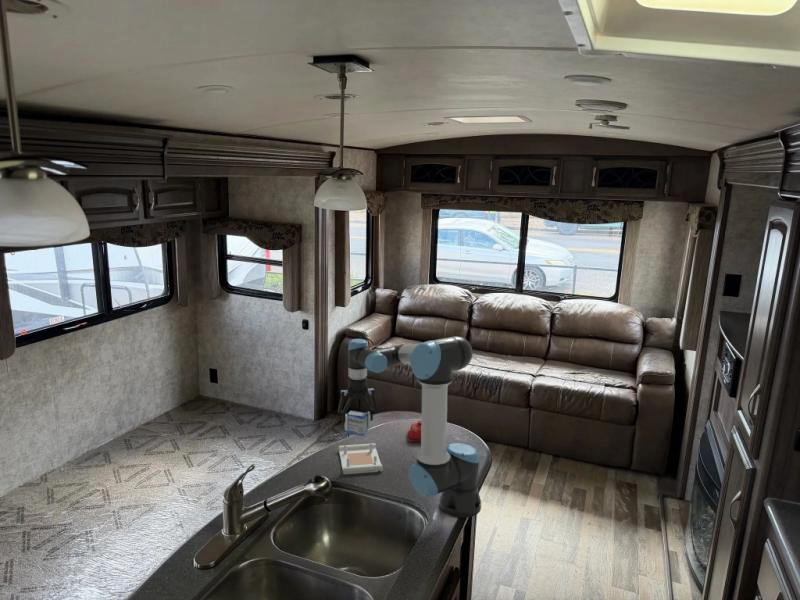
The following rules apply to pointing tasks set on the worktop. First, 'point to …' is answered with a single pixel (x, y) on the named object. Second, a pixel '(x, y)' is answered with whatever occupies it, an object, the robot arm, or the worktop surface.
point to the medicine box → (357, 423)
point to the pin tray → (359, 458)
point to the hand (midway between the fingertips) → (357, 428)
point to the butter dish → (414, 432)
